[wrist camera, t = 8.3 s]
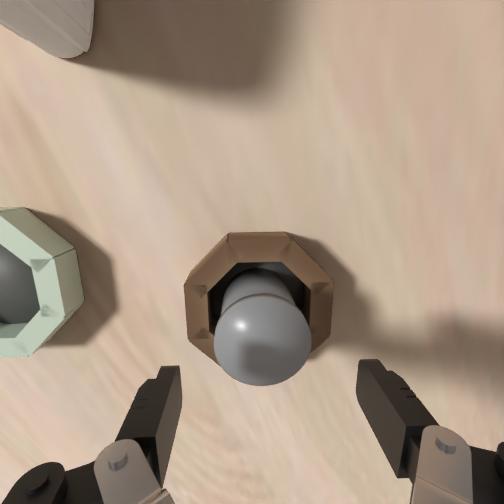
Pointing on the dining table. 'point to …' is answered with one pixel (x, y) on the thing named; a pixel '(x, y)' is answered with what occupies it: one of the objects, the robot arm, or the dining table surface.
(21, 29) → the photo printer
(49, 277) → the sage ring
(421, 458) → the robot arm
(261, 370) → the cap
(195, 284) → the walnut ring
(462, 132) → the dining table surface
